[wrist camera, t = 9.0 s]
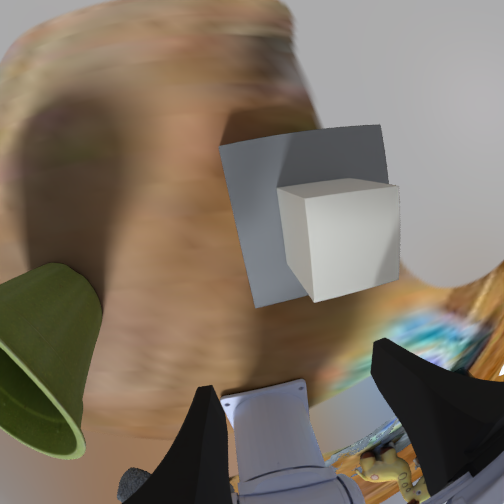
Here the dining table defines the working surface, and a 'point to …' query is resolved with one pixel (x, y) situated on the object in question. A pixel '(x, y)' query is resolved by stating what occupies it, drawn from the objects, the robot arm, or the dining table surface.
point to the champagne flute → (502, 371)
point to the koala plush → (135, 483)
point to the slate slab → (287, 174)
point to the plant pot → (46, 357)
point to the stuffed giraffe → (387, 463)
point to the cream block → (341, 235)
